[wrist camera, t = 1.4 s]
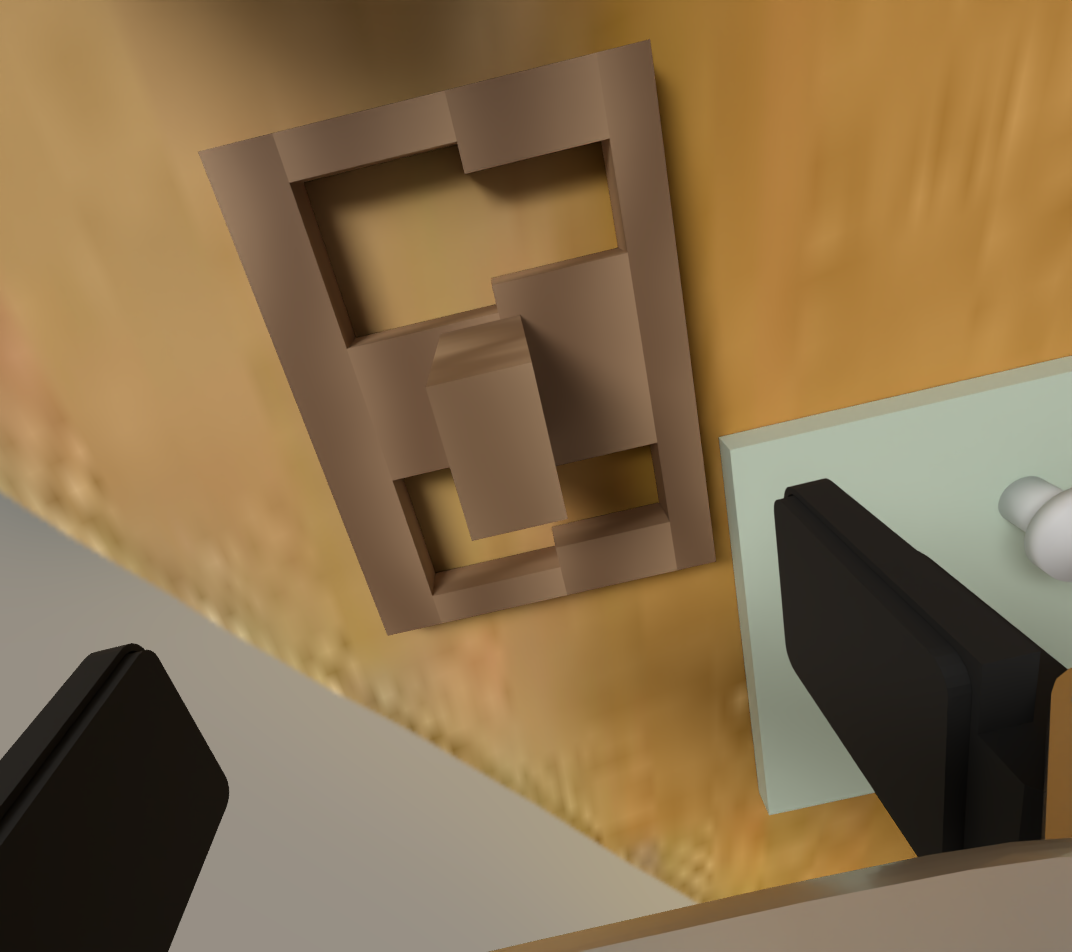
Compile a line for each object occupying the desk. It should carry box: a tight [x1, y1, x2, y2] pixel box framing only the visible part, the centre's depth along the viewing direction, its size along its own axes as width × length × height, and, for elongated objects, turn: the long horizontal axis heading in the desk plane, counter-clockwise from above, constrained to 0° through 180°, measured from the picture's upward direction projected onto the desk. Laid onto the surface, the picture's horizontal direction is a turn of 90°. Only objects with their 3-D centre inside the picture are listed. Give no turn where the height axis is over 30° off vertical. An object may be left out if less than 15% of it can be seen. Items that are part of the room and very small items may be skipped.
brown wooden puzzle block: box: [198, 39, 716, 635], centre depth 19 cm, size 12×16×7 cm
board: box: [719, 356, 1072, 815], centre depth 25 cm, size 16×18×4 cm
